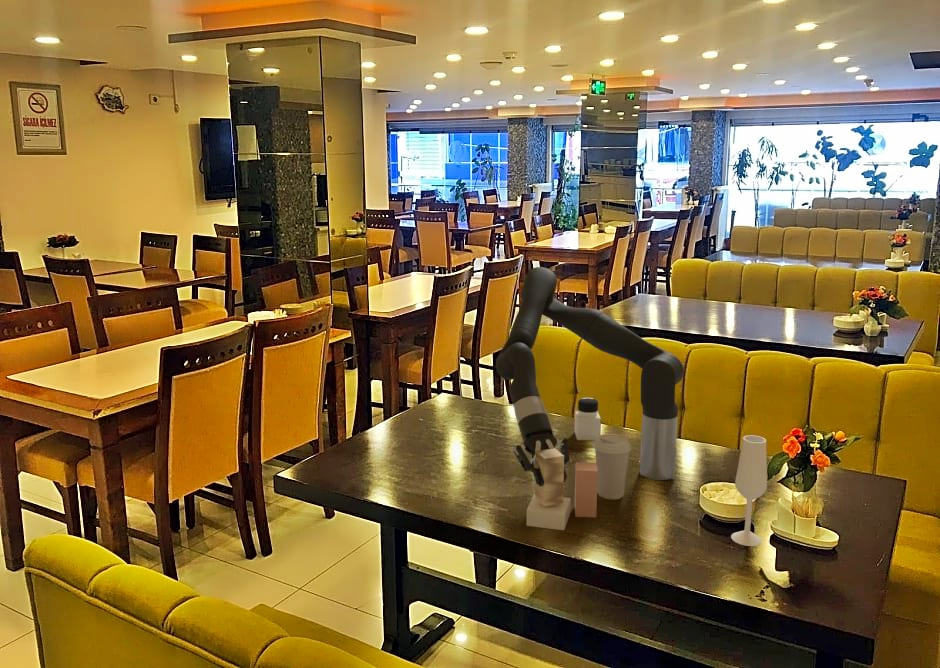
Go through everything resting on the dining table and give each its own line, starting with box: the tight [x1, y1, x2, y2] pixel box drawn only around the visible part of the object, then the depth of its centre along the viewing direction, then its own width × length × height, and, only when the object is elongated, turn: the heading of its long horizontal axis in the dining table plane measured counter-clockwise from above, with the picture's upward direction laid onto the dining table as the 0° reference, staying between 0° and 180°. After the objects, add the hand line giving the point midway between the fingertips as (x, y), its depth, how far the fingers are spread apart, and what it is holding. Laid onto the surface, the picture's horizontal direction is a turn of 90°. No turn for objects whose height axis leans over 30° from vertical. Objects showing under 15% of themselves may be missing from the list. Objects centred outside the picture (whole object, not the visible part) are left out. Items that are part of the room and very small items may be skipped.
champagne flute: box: [730, 434, 768, 547], centre depth 171 cm, size 7×7×24 cm
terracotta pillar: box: [574, 461, 598, 518], centre depth 186 cm, size 5×5×12 cm
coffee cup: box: [593, 433, 632, 500], centre depth 195 cm, size 10×10×15 cm
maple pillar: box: [534, 447, 565, 506], centre depth 181 cm, size 5×5×12 cm
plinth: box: [526, 493, 571, 531], centre depth 183 cm, size 9×9×4 cm
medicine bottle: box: [573, 397, 602, 441], centre depth 236 cm, size 7×7×12 cm
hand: (552, 483), depth 180 cm, fingers closed on maple pillar, 5 cm apart
